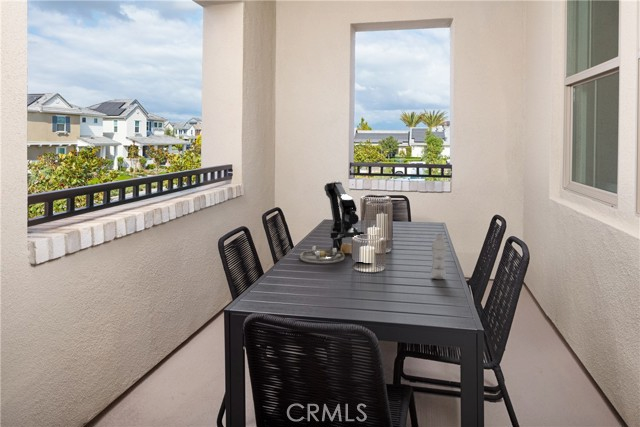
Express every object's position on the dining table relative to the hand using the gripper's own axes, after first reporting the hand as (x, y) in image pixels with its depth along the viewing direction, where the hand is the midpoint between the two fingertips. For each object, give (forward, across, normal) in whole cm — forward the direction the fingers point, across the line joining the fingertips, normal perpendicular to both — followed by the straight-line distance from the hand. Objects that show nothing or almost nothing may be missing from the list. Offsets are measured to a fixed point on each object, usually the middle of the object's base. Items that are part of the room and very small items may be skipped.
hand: (346, 249), depth 264 cm
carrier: (+2, -15, -9) cm, 18 cm away
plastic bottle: (+2, +29, -56) cm, 63 cm away
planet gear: (+1, 0, 0) cm, 1 cm away
